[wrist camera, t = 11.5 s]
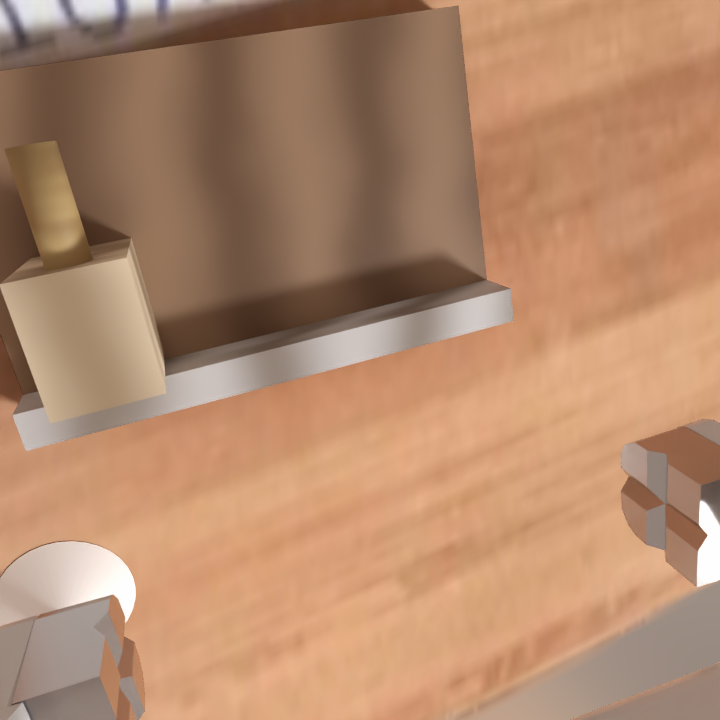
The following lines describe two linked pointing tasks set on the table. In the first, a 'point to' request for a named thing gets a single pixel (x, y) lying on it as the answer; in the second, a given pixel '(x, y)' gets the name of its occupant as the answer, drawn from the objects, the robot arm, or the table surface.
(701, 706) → the robot arm
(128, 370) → the marking gauge
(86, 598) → the champagne flute
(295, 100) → the walnut board
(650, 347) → the table surface
